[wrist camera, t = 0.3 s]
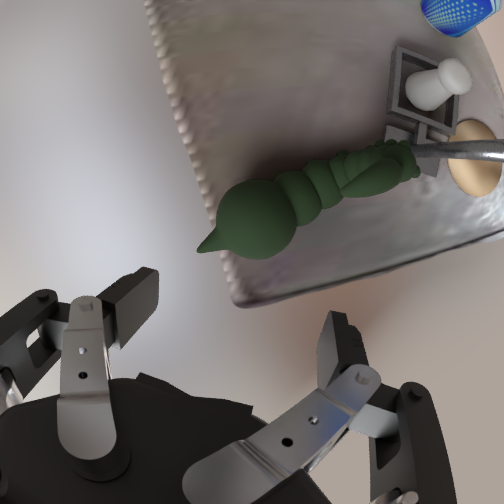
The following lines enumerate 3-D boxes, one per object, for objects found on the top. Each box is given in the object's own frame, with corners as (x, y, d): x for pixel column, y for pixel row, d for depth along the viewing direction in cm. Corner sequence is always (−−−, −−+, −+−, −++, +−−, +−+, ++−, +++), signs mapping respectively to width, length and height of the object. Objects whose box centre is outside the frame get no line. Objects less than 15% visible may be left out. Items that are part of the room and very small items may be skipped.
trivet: (450, 108, 30) (452, 108, 29) (503, 137, 28) (505, 137, 28) (440, 183, 34) (442, 183, 33) (493, 205, 32) (495, 205, 32)
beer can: (468, 31, 23) (517, -1, 8) (444, 46, 26) (496, 11, 11) (435, -6, 22) (472, -48, 7) (408, 7, 25) (445, -42, 10)
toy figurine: (351, 131, 35) (196, 208, 40) (409, 101, 17) (136, 237, 22) (379, 190, 37) (227, 264, 42) (451, 207, 19) (192, 330, 24)
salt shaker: (406, 69, 29) (444, 39, 17) (438, 90, 29) (484, 70, 17) (395, 100, 31) (433, 77, 19) (428, 120, 31) (475, 109, 19)
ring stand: (388, 54, 29) (454, -19, 8) (447, 78, 28) (536, 38, 7) (375, 158, 35) (457, 159, 14) (436, 178, 34) (538, 202, 13)
